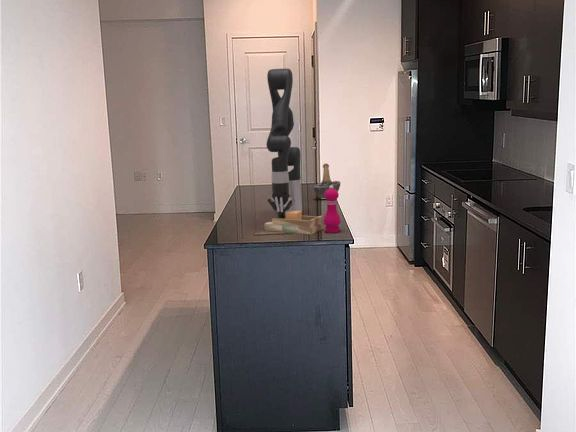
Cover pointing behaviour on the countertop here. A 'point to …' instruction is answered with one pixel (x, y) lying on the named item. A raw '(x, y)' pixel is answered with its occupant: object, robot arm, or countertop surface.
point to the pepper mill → (331, 211)
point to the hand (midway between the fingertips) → (281, 219)
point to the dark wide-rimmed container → (325, 183)
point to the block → (294, 215)
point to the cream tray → (296, 225)
